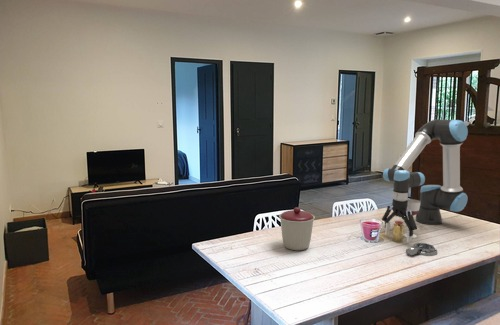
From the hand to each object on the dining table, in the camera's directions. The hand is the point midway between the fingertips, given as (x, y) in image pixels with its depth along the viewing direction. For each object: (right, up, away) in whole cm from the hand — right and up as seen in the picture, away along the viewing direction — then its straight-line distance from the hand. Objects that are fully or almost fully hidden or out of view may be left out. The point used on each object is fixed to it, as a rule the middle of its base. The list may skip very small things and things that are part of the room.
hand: (397, 237), depth 198 cm
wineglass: (+10, -1, +9) cm, 13 cm away
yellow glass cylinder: (0, -2, 0) cm, 2 cm away
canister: (-56, -3, -8) cm, 56 cm away
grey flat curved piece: (+5, -4, -15) cm, 17 cm away
